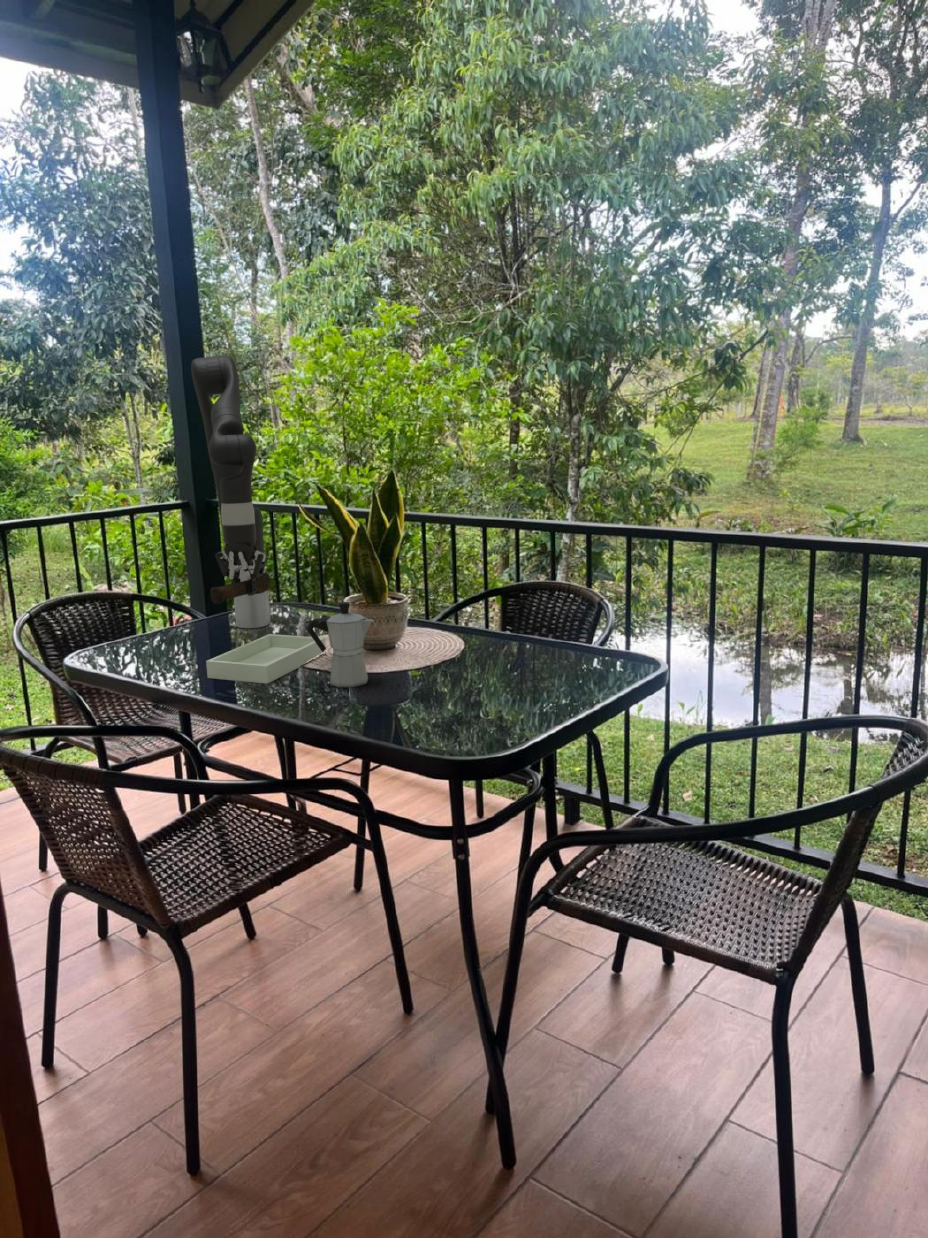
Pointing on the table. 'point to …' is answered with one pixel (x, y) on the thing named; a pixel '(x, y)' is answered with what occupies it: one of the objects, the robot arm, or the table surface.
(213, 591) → the dark brown log
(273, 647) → the tray
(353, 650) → the coffee maker
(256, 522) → the robot arm
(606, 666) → the table surface
